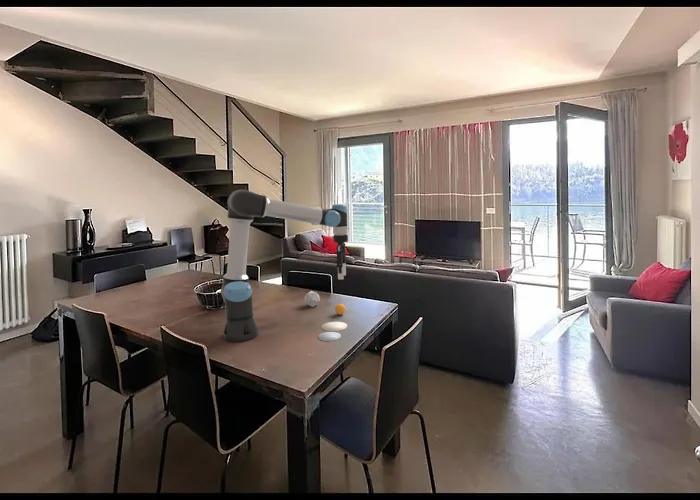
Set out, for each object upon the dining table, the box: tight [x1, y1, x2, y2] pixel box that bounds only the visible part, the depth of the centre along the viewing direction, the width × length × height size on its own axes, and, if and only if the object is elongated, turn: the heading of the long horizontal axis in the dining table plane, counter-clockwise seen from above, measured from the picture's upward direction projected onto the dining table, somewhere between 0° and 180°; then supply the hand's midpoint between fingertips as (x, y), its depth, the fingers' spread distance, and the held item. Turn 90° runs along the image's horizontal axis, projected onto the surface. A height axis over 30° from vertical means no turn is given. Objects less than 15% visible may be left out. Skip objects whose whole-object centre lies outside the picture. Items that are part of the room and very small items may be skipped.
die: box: [304, 290, 321, 308], centre depth 211 cm, size 8×9×10 cm
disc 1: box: [321, 321, 348, 332], centre depth 179 cm, size 12×12×1 cm
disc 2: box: [317, 331, 342, 342], centre depth 167 cm, size 10×10×1 cm
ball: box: [334, 303, 346, 316], centre depth 195 cm, size 6×6×6 cm
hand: (342, 277), depth 202 cm, fingers open, 8 cm apart
